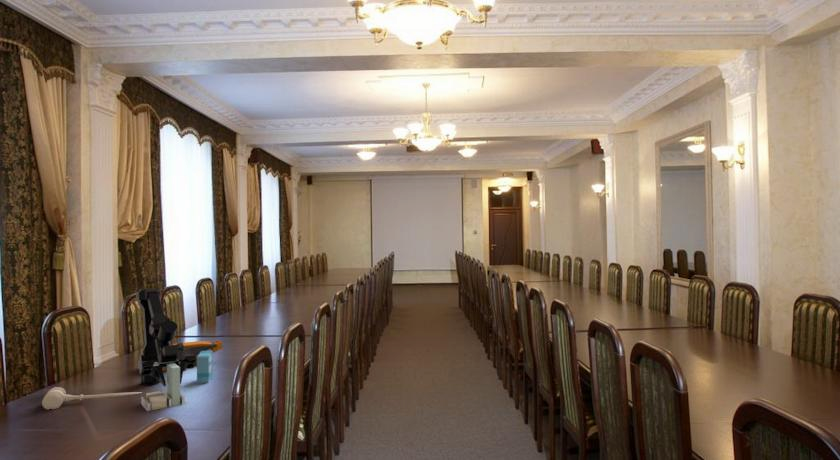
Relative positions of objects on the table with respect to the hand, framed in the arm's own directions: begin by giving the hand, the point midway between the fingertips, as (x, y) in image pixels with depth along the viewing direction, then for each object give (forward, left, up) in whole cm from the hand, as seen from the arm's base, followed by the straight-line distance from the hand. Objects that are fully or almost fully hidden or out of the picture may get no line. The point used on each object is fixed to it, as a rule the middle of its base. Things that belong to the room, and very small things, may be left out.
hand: (172, 384), depth 188 cm
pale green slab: (0, 0, -6) cm, 6 cm away
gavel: (-30, -2, -8) cm, 31 cm away
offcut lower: (-3, -5, -6) cm, 8 cm away
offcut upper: (-3, -5, -4) cm, 7 cm away
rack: (-2, -3, -7) cm, 8 cm away
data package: (-6, +28, -7) cm, 30 cm away
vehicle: (-32, +52, -7) cm, 61 cm away
